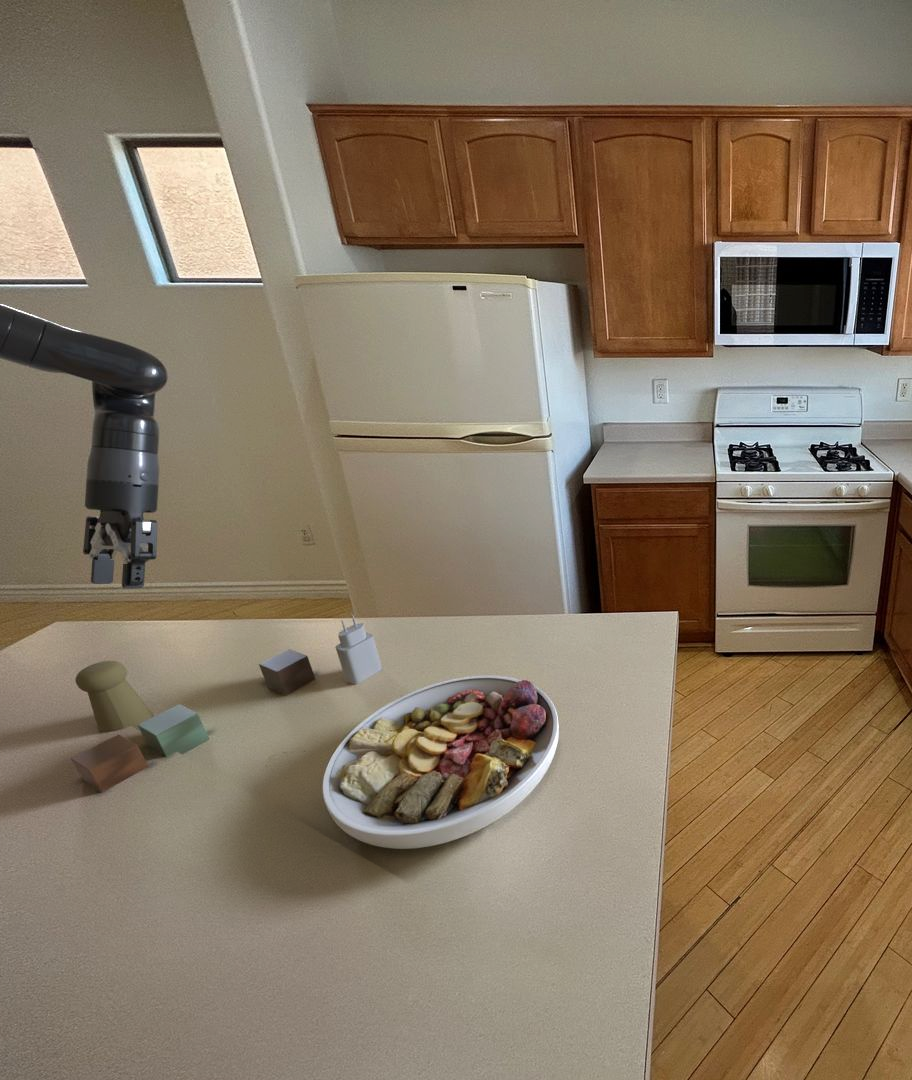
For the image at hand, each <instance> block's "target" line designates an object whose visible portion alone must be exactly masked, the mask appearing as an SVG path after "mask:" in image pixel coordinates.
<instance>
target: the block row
mask: <svg viewBox="0 0 912 1080" xmlns="http://www.w3.org/2000/svg"><path fill="white" fill-rule="evenodd" d="M258 666H259V669H260V671H261V674H262V676H263V679H264V682H265V684H266V687H267V689H270V690H272V691H273V692H276V693H279V694H281V695H283V696H288V695H290V694H291V693H294V692H295V691H297V690H299V689H300V688H302V687H304V686H305V685H308V684H309V683H311V682H313V681H314V680H316V677H315V674H314V671H313V667H312V665H311V662H310V660H309V656H308V655H306V654H304V653H302V652H299V651H296V650H293V649H291V648H289V649H287V650H285V651H283V652H281V653H279V654H277V655H274V656H273V657H271V658H269V659H266V660H265V661H262V662H261V663H259V664H258ZM137 726H138V727H139V729H138V730H139V732H140V733H141V736H142V737H143V739H144V741H145V742H146V745H147V747H149V748H151V749H152V750H154V751H156V752H157V753H159V754H161V755H163V756H164V757H169V756H171V755H172V754H174V753H178V754H180V755H184V754H186V753H187V752H189V751H191V750H192V749H194V748H196V747H198V746H199V745H202V744H203V743H205V742H206V741H208V740H210V737H209V734H208V733H207V730H206V727H204V725H203V722H202V720H201V718H200V716H199V713H198V712H195V711H194V710H191V709H189V708H187V707H185V706H184V705H181V704H180V703H178V704H176V705H175V706H172V707H171V708H168V709H166V710H165V711H163V712H160V713H158V714H156V715H153V717H152V718H150V719H148V720H146V721H144V722H142V723H140V724H138V725H137ZM70 760H71V762H72V764H73V766H74V767H75V769H76V771H77V772H78V774H79V775H80V777H81V779H82V780H83V781H84V782H85V783H86V784H88V785H89V786H90V787H92V788H94V789H96V790H97V791H99V792H100V793H104V792H106V791H108V790H109V789H111V788H113V787H115V786H116V785H119V784H120V783H122V782H125V781H126V780H127V779H130V778H131V777H133V776H135V775H136V774H138V773H140V772H142V771H143V770H145V769H147V768H149V767H150V766H149V764H148V761H146V759H145V757H144V755H143V753H142V751H141V748H139V745H138V744H136V743H135V742H133V741H132V740H129V739H128V738H126V737H125V736H122V735H121V734H117V735H114V736H113V737H110V738H109V739H107V740H104V741H103V742H101V743H98V744H97V745H95V746H92V747H91V748H88V749H86V750H84V751H83V752H80V753H78V754H76V755H74V756H73V757H70Z"/></svg>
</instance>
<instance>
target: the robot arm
mask: <svg viewBox="0 0 912 1080" xmlns="http://www.w3.org/2000/svg"><path fill="white" fill-rule="evenodd" d="M0 360H3V361H8V362H11V363H13V364H17V365H21V366H24V367H28V368H30V369H34V370H38V371H42V372H48V373H52V374H64V375H65V374H66V375H70V376H74V377H77V378H80V379H84V380H87V381H91V392H92V393H91V394H92V403H93V410H94V415H93V421H92V430H91V443H90V445H91V446H90V451H89V455H88V459H87V465H86V479H85V480H86V481H85V494H84V495H85V496H84V507H85V508H86V509H87V510H91V511H99V512H100V513H99V515H98V516H92V515H91V516H89V515H88V516H87V517H86V519H85V527H84V538H83V548H82V552H83V554H84V555H88V557H89V560H91V570H90V571H91V573H90V583H91V584H94V585H108V584H109V585H110V584H112V583H113V582H114V572H115V558H116V556H117V553H118V552H119V553H120V555H121V558H122V562H123V563H122V573H121V587H122V588H123V589H127V590H129V589H142V588H144V586H145V575H146V564H148V563H149V562H150V560H151V561H152V560H153V561H154V560H156V558H157V552H158V551H157V549H158V548H157V547H158V521H157V520H156V519H144V514H145V513H147V514H153V513H156V512H157V511H158V501H159V484H160V483H159V482H160V462H159V449H160V448H159V447H160V425H159V422H158V421H157V419H155V411H156V410H155V408H156V394H157V393H158V392H160V391H161V390H162V389H164V387H165V386H166V384H167V382H168V380H169V379H168V378H169V374H168V369H167V368H166V367H165V365H164V363H162V361H160V360H159V358H158V357H156V356H155V355H153V354H151V353H150V352H148V351H146V350H144V349H141V348H139V347H136V346H134V345H131V344H128V343H125V342H122V341H117V340H115V339H111V338H108V337H103V336H99V335H95V334H92V333H89V332H83V331H79V330H75V329H71V328H69V327H65V326H63V325H60V324H58V323H55V322H52V321H49V320H46V319H44V318H42V317H38V316H36V315H33V314H29V313H27V312H24V311H22V310H18V309H16V308H13V307H10V306H7V305H5V304H1V303H0Z"/></svg>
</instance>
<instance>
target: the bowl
mask: <svg viewBox="0 0 912 1080" xmlns="http://www.w3.org/2000/svg"><path fill="white" fill-rule="evenodd" d="M559 733H560V728H559V718H558V713H557V709H556V707H555V705H554V703H553V702H552V700H551V698H550V697H549V696H548V695H547V694H546V693H545V692H544V691H543V690H542V689H540V688H538V687H537V686H535V685H534V684H533V682H531V681H529V680H525V679H523V680H522V679H519V678H515V677H510V676H504V675H503V676H502V675H471V676H464V677H457V678H451V679H448V680H444V681H440V682H436V683H433V684H430V685H427V686H424V687H421V688H418V689H416V690H413V691H411V692H409V693H407V694H405V695H403V696H401V697H399V698H396V699H395V700H393V701H391V702H389V703H387V704H386V705H384V706H383V707H381V708H379V709H378V710H376V711H374V712H373V713H372V714H371V715H369V716H368V717H367V718H365V719H364V720H362V722H361V723H359V724H358V725H357V726H356V727H355V728H354V729H352V731H351V732H350V733H348V735H346V737H345V738H344V739H343V740H342V741H341V742H340V744H339V745H338V747H337V748H336V749H335V751H334V752H333V754H332V756H331V757H330V759H329V761H328V763H327V765H326V768H325V771H324V773H323V779H322V788H321V789H322V797H323V801H324V804H325V807H326V809H327V811H328V813H329V815H330V817H331V818H332V820H333V822H334V823H335V824H336V825H337V826H338V827H339V828H340V829H341V830H342V832H344V833H346V834H347V835H349V836H350V837H352V838H354V839H356V840H357V841H360V842H362V843H365V844H367V845H370V846H375V847H379V848H386V849H396V850H400V849H401V850H407V849H408V850H409V849H421V848H428V847H433V846H437V845H441V844H446V843H449V842H453V841H455V840H458V839H461V838H464V837H467V836H469V835H471V834H473V833H476V832H478V831H480V830H482V829H484V828H486V827H487V826H489V825H491V824H493V823H495V822H496V821H497V820H499V819H501V818H502V817H504V816H505V815H506V814H508V813H509V812H511V811H512V810H513V809H515V807H517V806H518V805H520V804H521V802H522V801H524V800H525V798H527V797H528V796H529V795H530V793H532V791H533V790H534V789H535V788H536V787H537V786H538V785H539V783H540V782H541V780H543V778H544V776H545V775H546V773H547V771H548V769H549V768H550V765H551V763H552V762H553V759H554V757H555V754H556V750H557V747H558V742H559V735H560V734H559Z"/></svg>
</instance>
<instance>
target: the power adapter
mask: <svg viewBox="0 0 912 1080" xmlns="http://www.w3.org/2000/svg"><path fill="white" fill-rule="evenodd" d="M351 618H352V622H353V624H352V625H350V626H348V627H346V624H345V621H344V620H343V619H341V625H342V628H343V629H342V630H340V631H339V632H338V635H337V636H338V641H339V642H340V643H338V644H337V645H335V647H334V648H335V651H336V654H337V656H338V660H339V663H340V667H341V669H342V672H343V676H344V679H345V682H347V683H348V684H351V685H359V684H361V683H362V682H364V681H366V680H368V679H369V678H371V677H372V676H374V675H376V674H377V673H379V672H380V671H382V670H383V667H382V666H383V665H382V662H381V660H380V656H379V653H378V649H377V648H378V647H377V644H376V642H375V638H374V634H371V633H369V632H366V629H365V625H364V623H363V622H360V623H357V621H356V619H355V615H354V614H351Z"/></svg>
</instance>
